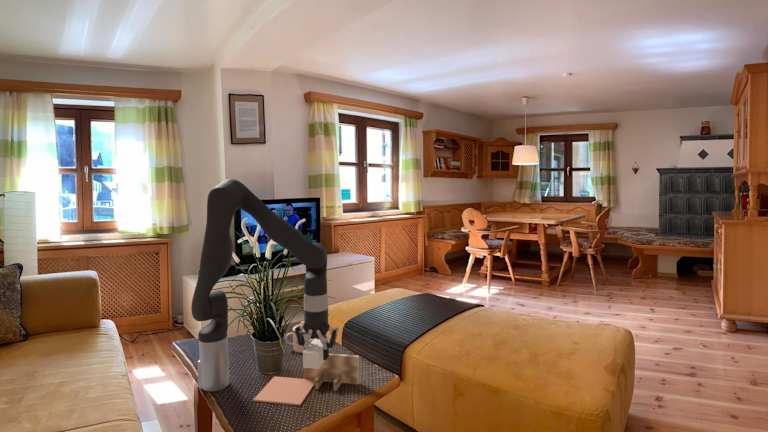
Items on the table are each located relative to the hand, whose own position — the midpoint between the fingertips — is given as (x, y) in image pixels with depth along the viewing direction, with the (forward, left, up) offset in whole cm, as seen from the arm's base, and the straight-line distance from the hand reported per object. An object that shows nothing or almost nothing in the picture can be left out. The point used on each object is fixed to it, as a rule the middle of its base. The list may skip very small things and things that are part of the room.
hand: (317, 358), depth 140 cm
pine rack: (0, +11, -15) cm, 18 cm away
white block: (0, 0, -1) cm, 1 cm away
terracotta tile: (-13, +5, -15) cm, 20 cm away
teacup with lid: (-21, +39, -15) cm, 46 cm away
